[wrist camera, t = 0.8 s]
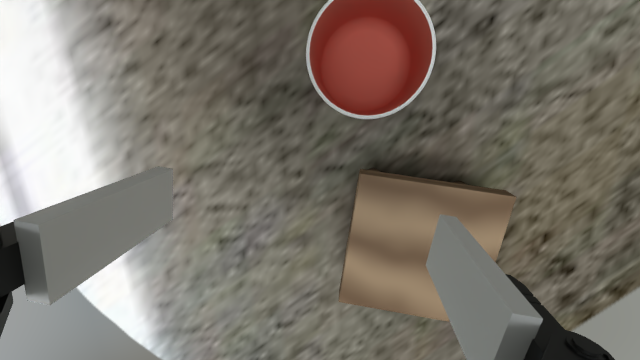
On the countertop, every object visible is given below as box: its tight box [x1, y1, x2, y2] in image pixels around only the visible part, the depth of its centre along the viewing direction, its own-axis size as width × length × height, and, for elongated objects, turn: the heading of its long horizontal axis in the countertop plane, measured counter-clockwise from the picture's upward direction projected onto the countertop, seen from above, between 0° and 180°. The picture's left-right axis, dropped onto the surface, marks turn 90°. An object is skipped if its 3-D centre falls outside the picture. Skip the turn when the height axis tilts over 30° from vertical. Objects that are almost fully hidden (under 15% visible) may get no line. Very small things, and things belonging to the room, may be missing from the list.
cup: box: [306, 0, 436, 119], centre depth 28 cm, size 10×10×10 cm
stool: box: [339, 168, 516, 322], centre depth 33 cm, size 14×14×8 cm
